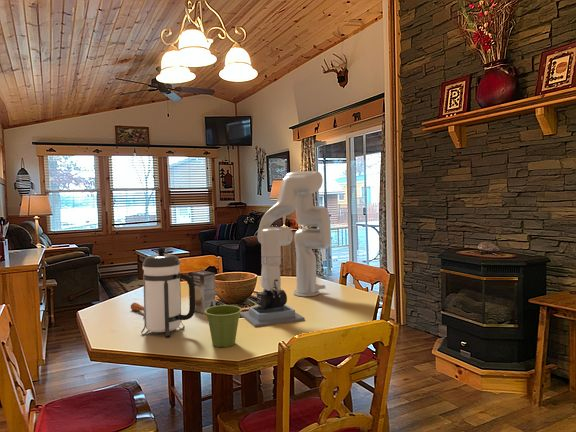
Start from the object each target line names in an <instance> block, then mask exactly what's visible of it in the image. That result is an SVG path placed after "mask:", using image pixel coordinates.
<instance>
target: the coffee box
mask: <svg viewBox="0 0 576 432" xmlns="http://www.w3.org/2000/svg"><path fill="white" fill-rule="evenodd" d="M190 277H191V278H192V280H193V282H194V286H195V312H197V313H201V314H203V315H205V314H206V313H205V310H206V309H207V308H210V307H213V306H216V273H215V272H211V271H206V270H199V271H193V272H191V273H190Z"/></svg>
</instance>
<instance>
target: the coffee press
mask: <svg viewBox="0 0 576 432" xmlns="http://www.w3.org/2000/svg"><path fill="white" fill-rule="evenodd" d="M157 252H158V254H152V255H149V256H146V257H145V259H144V260H143V262H142V271H143V275H142V277H143V284H142V285H143V307H144V311H143V314H144V319H143V320H144V323H143V324H144V326H143V328H142V330H141V331H140V332H141V336H146V335H147V334H148V333H149V332H151V333H164V337H165V338H170V337H171V331H175V330H176V329H180V330H185V327H186V326H185V325H184V324H183V322H182V321H186V320H189V319H191V318H192V317H194V315H195V312H196V311H195V286H194V282H193V280H192V278H191V275H189V274H187V273H181V270H180V266H181V260H180V258H179V257H178V256H177V255H175V254H171V253H165V252H166V249H165V248H164V247H161V246H160V247H159V248H158V249H157ZM181 280H185V282H187V285H188V297H189V299H188V300H189V302H188V303H189V308H188V309H189V311H188V313H187V314H182V299H181V298H182V296H181V295H182V294H181ZM181 325H182V326H183V327H180V326H181ZM145 329H146V332H145ZM143 332H145V333H143Z"/></svg>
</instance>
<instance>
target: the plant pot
mask: <svg viewBox="0 0 576 432" xmlns="http://www.w3.org/2000/svg"><path fill="white" fill-rule="evenodd" d="M242 311H243V309H242V307H240V306H238V305H231V304H230V305H229V304H226V305H225V304H221V305H215V306H213V307H210V308H207V309H206V310H205V314H206V319H207V320H208V327H209V331H210V337H211V338H210V339H211V343H212V344H211V345H212V346H214V347H216V348H222V347H224V348H229V347H232V346H234V345H235V343H236V341H237V340H236V339H237V332H238V325H239V320H240V316H241V315H240V312H242Z"/></svg>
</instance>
